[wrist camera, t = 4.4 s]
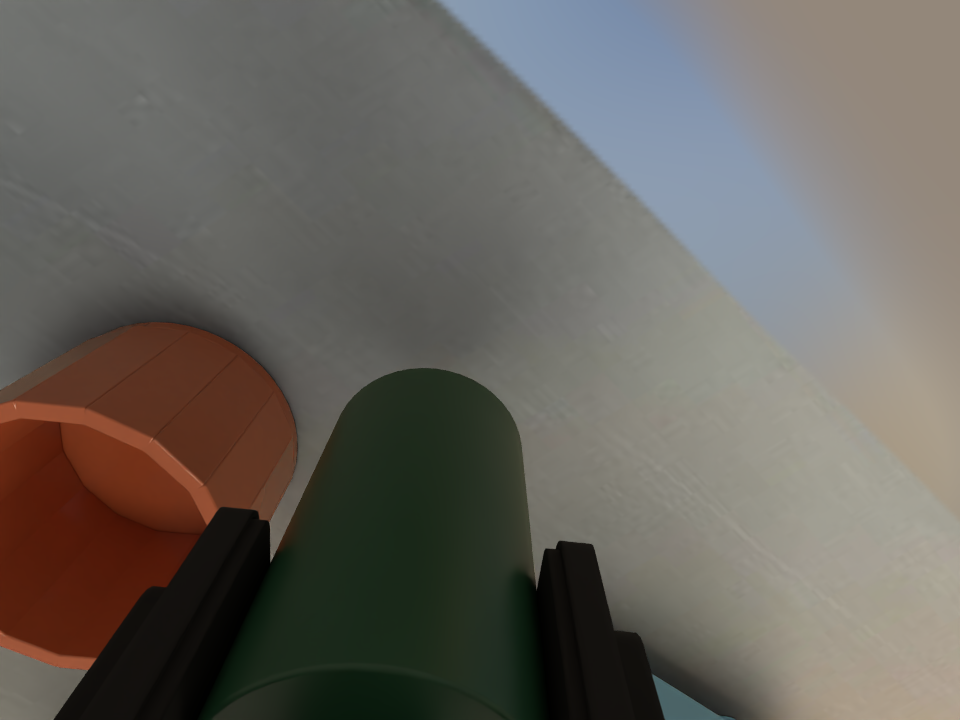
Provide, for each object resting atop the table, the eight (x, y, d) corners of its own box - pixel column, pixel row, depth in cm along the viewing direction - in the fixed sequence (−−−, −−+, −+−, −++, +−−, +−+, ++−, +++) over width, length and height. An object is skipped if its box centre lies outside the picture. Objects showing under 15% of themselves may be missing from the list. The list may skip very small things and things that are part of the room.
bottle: (335, 356, 14) (29, 869, 5) (535, 378, 14) (629, 916, 5) (330, 522, 15) (97, 1146, 6) (508, 540, 16) (540, 1175, 6)
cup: (41, 308, 21) (-135, 385, 15) (299, 336, 22) (228, 422, 15) (71, 522, 24) (-65, 657, 18) (296, 543, 25) (236, 683, 19)
